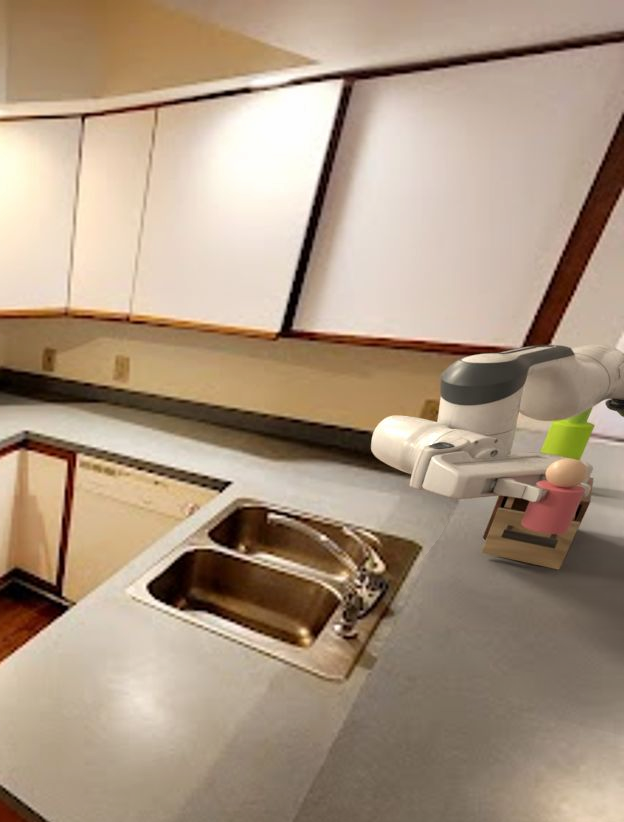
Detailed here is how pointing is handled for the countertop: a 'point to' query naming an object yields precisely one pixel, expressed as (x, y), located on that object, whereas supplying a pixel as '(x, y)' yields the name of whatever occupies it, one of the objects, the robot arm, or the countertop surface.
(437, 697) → the countertop surface
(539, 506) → the doll
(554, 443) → the soap dispenser
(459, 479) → the robot arm
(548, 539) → the drawer
